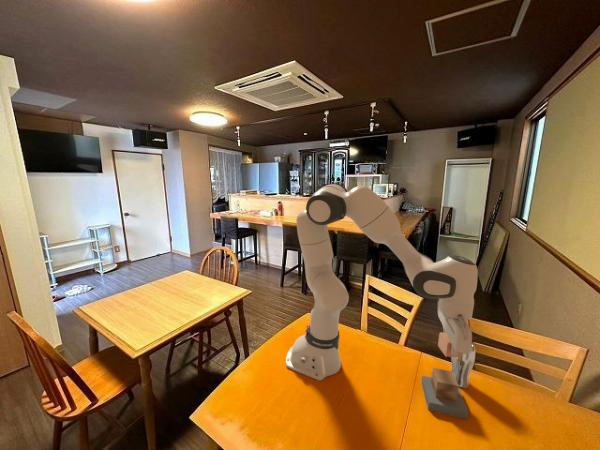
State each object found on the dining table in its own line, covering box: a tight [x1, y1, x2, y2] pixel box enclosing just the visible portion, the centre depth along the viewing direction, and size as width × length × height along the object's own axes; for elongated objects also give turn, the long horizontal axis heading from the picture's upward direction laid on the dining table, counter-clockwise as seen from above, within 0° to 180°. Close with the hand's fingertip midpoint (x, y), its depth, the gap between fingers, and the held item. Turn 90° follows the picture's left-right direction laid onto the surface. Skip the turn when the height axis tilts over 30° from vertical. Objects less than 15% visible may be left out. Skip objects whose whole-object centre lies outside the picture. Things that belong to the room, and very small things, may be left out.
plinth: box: [421, 375, 469, 420], centre depth 81 cm, size 11×11×3 cm
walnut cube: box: [431, 367, 460, 402], centre depth 80 cm, size 6×6×6 cm
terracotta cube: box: [437, 331, 463, 358], centre depth 77 cm, size 5×5×5 cm
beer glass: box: [450, 344, 476, 389], centre depth 87 cm, size 7×7×15 cm
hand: (449, 346), depth 77 cm, fingers closed on terracotta cube, 5 cm apart
